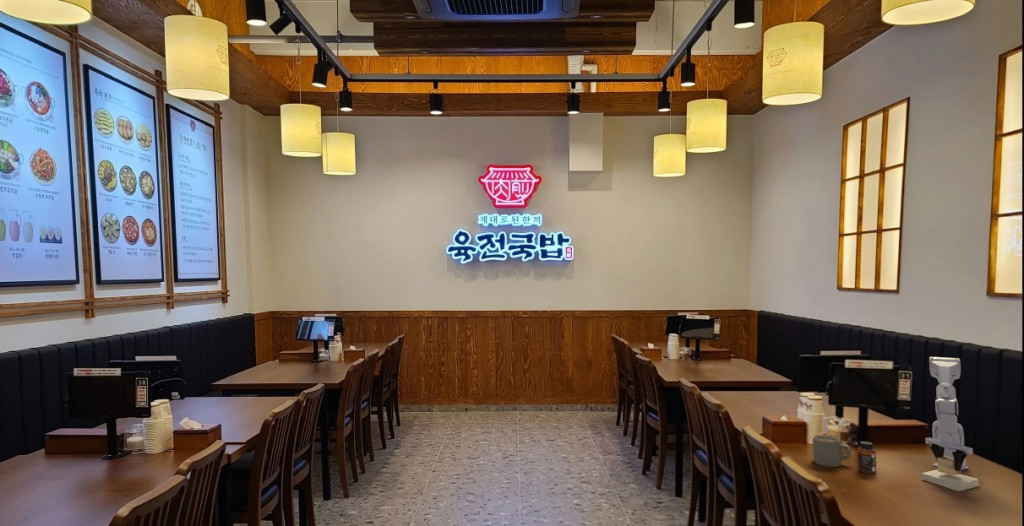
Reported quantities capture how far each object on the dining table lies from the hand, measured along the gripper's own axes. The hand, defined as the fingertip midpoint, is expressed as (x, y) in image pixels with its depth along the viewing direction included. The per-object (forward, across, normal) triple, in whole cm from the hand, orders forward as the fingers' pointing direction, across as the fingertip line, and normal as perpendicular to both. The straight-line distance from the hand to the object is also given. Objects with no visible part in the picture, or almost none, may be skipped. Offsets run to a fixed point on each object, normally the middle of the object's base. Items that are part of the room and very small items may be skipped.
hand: (949, 468), depth 196 cm
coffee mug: (+6, -32, -20) cm, 38 cm away
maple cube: (+2, 0, 0) cm, 2 cm away
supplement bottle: (+6, -20, -16) cm, 26 cm away
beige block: (+6, 0, 0) cm, 6 cm away
